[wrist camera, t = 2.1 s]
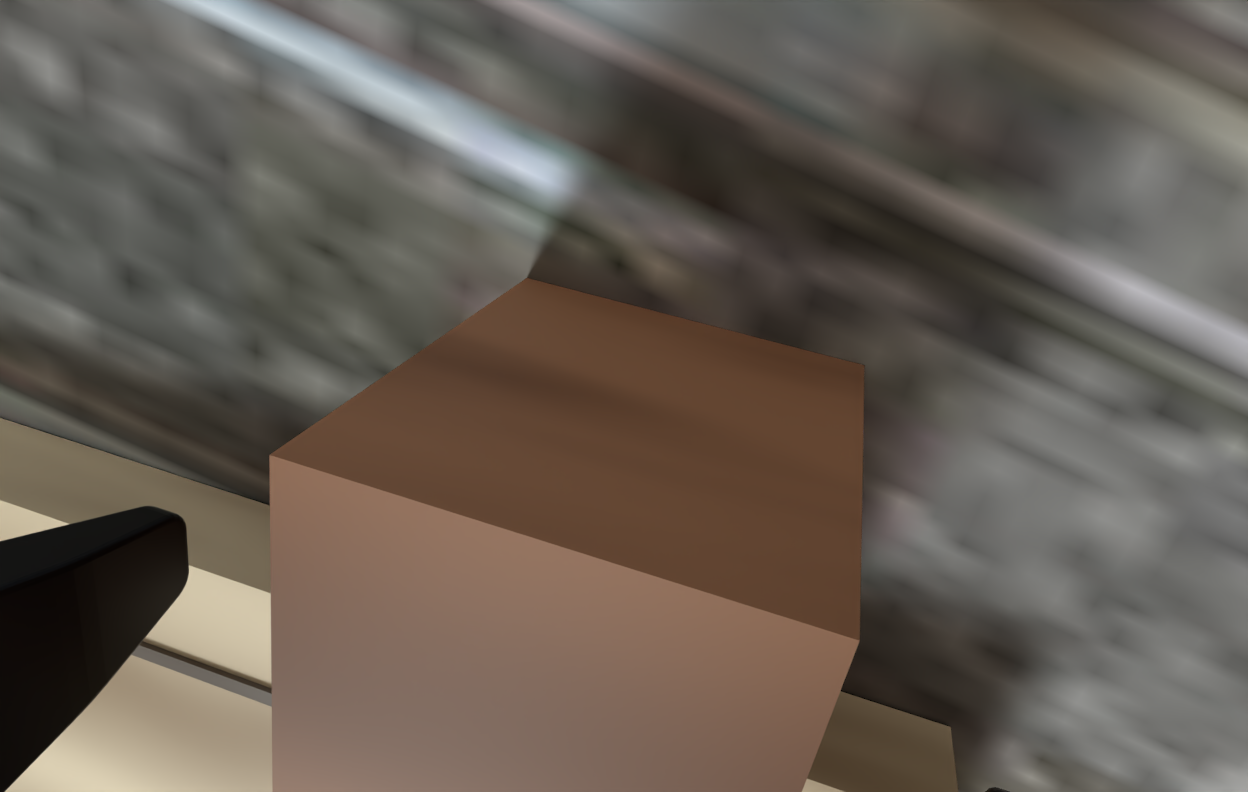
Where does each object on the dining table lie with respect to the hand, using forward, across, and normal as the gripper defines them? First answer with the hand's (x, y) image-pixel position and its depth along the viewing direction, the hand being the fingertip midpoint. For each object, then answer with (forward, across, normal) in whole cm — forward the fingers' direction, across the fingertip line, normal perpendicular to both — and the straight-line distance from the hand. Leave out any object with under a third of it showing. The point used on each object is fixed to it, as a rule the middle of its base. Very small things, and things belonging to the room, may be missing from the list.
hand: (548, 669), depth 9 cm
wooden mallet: (+5, 0, +4) cm, 6 cm away
